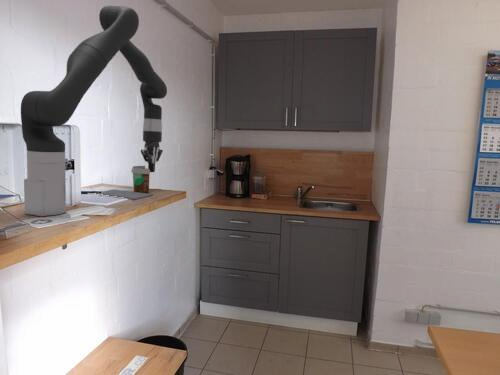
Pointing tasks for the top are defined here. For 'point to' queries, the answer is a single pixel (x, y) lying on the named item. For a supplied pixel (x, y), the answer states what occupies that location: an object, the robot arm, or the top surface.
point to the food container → (141, 179)
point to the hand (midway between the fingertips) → (151, 171)
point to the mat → (125, 194)
